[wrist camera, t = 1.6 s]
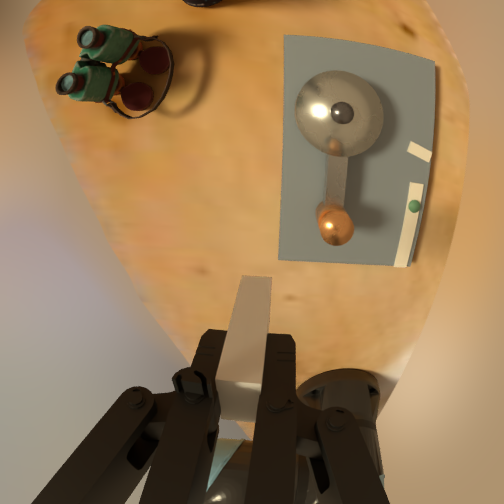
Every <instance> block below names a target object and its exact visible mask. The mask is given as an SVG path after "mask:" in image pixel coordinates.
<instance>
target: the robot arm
mask: <svg viewBox="0 0 504 504" xmlns="http://www.w3.org/2000/svg"><path fill="white" fill-rule="evenodd" d="M271 286H272V277H259V276H242V278H241V281H240V285H239V289H238V293H237V297H236V300H235V304H234V308H233V312H232V316H231V320H230V323H229V327H228V331H224V330H214V329H208V330H207V331H206V332H205V333H204V334H203V335H202V336H201V339H200V342H199V345H198V347H197V350H196V354H195V356H194V359H193V362H192V365H191V367H187V368H184V369H181V370H179V371H178V372H176V373H175V374H174V376H173V377H172V381H173V384H174V387H175V391H173V392H169V393H159V394H152V393H151V391H149V390H148V389H147V388H144V387H140V386H139V387H131V388H129V389H127V390H126V391H125V392H123V393H122V394H121V396H120V397H119V398H118V399H117V400H116V402H115V403H114V404H113V405H112V406H111V408H110V409H109V410H108V411H107V413H105V415H104V416H103V417H102V418H101V419H100V421H99V422H98V423H97V424H96V425H95V427H94V428H93V429H92V430H91V431H90V433H89V434H88V435H87V437H85V439H84V440H83V441H82V442H81V444H80V445H79V446H78V447H77V448H76V450H75V451H74V452H73V453H72V454H71V456H70V457H69V458H68V459H67V461H66V462H65V463H64V464H63V465H62V467H61V468H60V469H59V470H58V471H57V473H56V474H55V475H54V476H53V478H52V479H51V480H50V481H49V483H48V484H47V485H46V486H45V487H44V489H43V490H42V491H41V492H40V494H39V495H38V496H37V497H36V499H35V500H34V501H33V502H32V503H31V504H125V502H126V501H127V499H128V498H129V496H130V495H131V494H132V492H133V491H134V489H135V488H136V486H137V485H138V483H139V482H140V480H141V479H142V477H143V476H144V475H145V473H146V472H147V470H148V469H149V467H150V466H151V468H150V470H149V473H148V476H147V480H146V483H145V486H144V489H143V492H142V495H141V498H140V502H139V504H390V503H389V500H388V498H387V495H386V492H385V490H384V478H385V475H384V474H383V466H382V460H381V454H380V447H379V442H378V435H377V430H376V418H377V412H378V407H379V400H380V390H379V386H378V382H377V380H376V379H375V377H374V376H372V375H371V374H369V373H367V372H364V371H361V370H355V369H340V370H333V371H329V372H325V373H322V374H319V375H316V376H314V377H312V378H310V379H308V380H307V381H305V382H304V383H303V384H301V385H300V386H299V388H298V389H297V390H296V355H295V353H296V344H295V341H294V340H293V338H292V336H291V335H290V334H271V333H269V322H270V306H271ZM220 415H221V419H227V420H235V421H244V422H255V429H254V437H253V441H249V440H245V439H241V440H237V439H224V438H220V439H217V438H218V433H219V425H218V422H219V418H220Z"/></svg>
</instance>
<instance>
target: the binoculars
mask: <svg viewBox="0 0 504 504" xmlns="http://www.w3.org/2000/svg"><path fill="white" fill-rule="evenodd" d="M157 38H158V36H152V37H146V36H138V35H137V34H136V33H134V32H132V30H131V29H130V30H127V29H125V28H117V27H114V26H110V25H101V26H99V27H97V28H94V27H91V26H85V27H83V28H82V29H81V30H80V31H79V33H78V35H77V43H78V45H79V47H81V48H82V51H81V53H80V55H79V57H81V60H80V61H77V62H76V64H75V66H74V68H73V71H72V73H70V72H69V73H65V74H64V75H62V76H61V77H60V78H59V80H58V81H57V83H56V92H57V93H58V94H59V95H68V96H69V97H70V98H71V99H73V100H76V101H92V102H95V103H101V102H103V103H104V104H105V105H106V106H108V107H110V108H111V109H112V110H113V111H114V112H115V113H118V114H119V115H120V116H123V117H125V118H127V119H134V118H141V117H144V116H145V115H147V114H149V113H150V112H152V111H154V110H156V109H157V107H158V106H159V105H160V103H161V102H162V101H163V100H164V98H165V96H166V94H167V92H168V89H169V87H170V84H171V81H172V77H173V70H174V62H173V56H172V53H171V50H170V49H169V48H168V46H167V45H166V44H165V42H163V41H161V40H159V39H157ZM140 40H143V41H153V40H157V41H160V42H161V43H162V44H163V45H164V47H150V48H147V49H145V50H144V51H142V50H143V47H142V43H141V42H140ZM138 57H139V63H140V65H141V67H142V69H143V70H144V71H145V72H147V73H149V74H160V73H163V72H165V71H167V70H168V69H169V68H170V69H169V76H168V80H167V83H166V86H165V89H164V91H163V93H162V96H161V98H160V99H159V100H158V102H157V103H156V104H155V106H154V107H153V108H152V109H151V110H149V111H148V112H146V113H144V114H142V115H141V116H139V117H131V116H129V115H126V114H125V113H123V112H122V111H121V110H120V109H119V108H118V107H117V105H116V103H115V102H113V101H111V98H112V97H113V95H117V94H119V93H121V98H122V101H123V103H124V105H125V106H126V107H127V108H128V109H130V110H134V111H141V110H144V109H146V108H148V107H149V106H150V104H151V103H152V101H153V97H154V96H153V90H152V89H151V87H150V86H148V85H146V84H144V83H141V82H136V83H131V84H129V85H127V86H126V87H125V81H124V78H123V77H122V76H121V75H120V74H119V73H118V70H117V69H116V66H117V65H119V64H122V63H124V62H126V61H127V60H134V59H136V58H138ZM100 61H101V62H100ZM102 62H106V63H112V66H111V68H110V67H107V66H106V64H105V63H102ZM108 102H111V103H108ZM107 103H108V104H107Z"/></svg>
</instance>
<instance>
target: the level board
mask: <svg viewBox="0 0 504 504" xmlns="http://www.w3.org/2000/svg"><path fill="white" fill-rule="evenodd" d="M333 70H339V71H346V72H350V73H353V74H355V75H357V76H359V77H361V78H362V79H364V80H365V81H366V82H367V83H369V85H370V86H371V87H372V88H373V89H374V90H375V92H376V93H377V95H378V97H379V99H380V101H381V104H382V108H383V126H382V130H381V132H380V135H379V137H378V138H377V140H376V141H375V142H374V144H373V145H372V146H371V147H370V148H368V149H367V150H366V151H364V152H362V153H360V154H357V155H354V156H349V157H348V166H347V178H346V188H345V198H344V209H345V210H346V212H347V214H348V215H349V217H350V219H351V220H352V222H353V224H354V233H353V236H352V238H351V239H350V240H349V241H348V242H347V243H345V244H343V245H340V246H333V245H330V244H328V243H326V242H325V241H324V240H323V238H322V236H321V233H320V229H319V226H318V223H317V219H316V216H315V211H316V208H317V206H318V204H319V203H320V202H322V201H323V191H324V178H325V164H326V153H323V152H321V151H320V150H318V149H316V148H315V147H314V146H312V145H311V144H310V143H309V142H308V141H307V140H306V139H305V138H304V137H303V135H302V134H301V132H300V131H299V129H298V127H297V124H296V121H295V115H294V108H295V102H296V98H297V96H298V94H299V92H300V90H301V89H302V87H303V86H304V85H305V83H306V82H307V81H308V80H309V79H311V78H312V77H314V76H316V75H317V74H320V73H322V72H326V71H333ZM434 120H435V61H432V60H429V59H426V58H422V57H419V56H416V55H412V54H409V53H405V52H401V51H397V50H393V49H389V48H384V47H380V46H375V45H370V44H365V43H359V42H353V41H347V40H340V39H332V38H323V37H313V36H299V35H284V116H283V157H282V187H281V212H280V234H279V254H278V260H288V261H307V262H326V263H346V264H366V265H387V266H394V267H405V268H406V266H409V267H410V265H411V262H412V258H413V254H414V250H415V246H416V242H417V238H418V233H419V229H420V224H421V219H422V214H423V209H424V204H425V198H426V192H427V186H428V179H429V172H430V165H431V156H432V146H433V135H434Z"/></svg>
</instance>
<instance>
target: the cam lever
mask: <svg viewBox="0 0 504 504" xmlns="http://www.w3.org/2000/svg"><path fill="white" fill-rule="evenodd" d="M294 115H295V121H296V124H297V127H298V129H299V131H300V132H301V134H302V135H303V137H304V138H305V139H306V140H307V141H308V142H309V143H310V144H311V145H312V146H314V147H315V148H316V149H318V150H320V151H321V152H323V153H326V164H325V178H324V191H323V201H322V202H320V203H319V204H318V206H317V208H316V211H315V216H316V219H317V223H318V226H319V229H320V233H321V236H322V238H323V240H324V241H325V242H326V243H328V244H330V245H333V246H340V245H343V244H345V243H347V242H348V241H349V240H350V239H351V238H352V236H353V233H354V224H353V222H352V220H351V219H350V217H349V215H348V214H347V212H346V210H345V209H344V198H345V188H346V178H347V166H348V157H349V156H354V155H357V154H360V153H362V152H364V151H366V150H367V149H368V148H370V147H371V146H372V145H373V144H374V142H375V141H376V140H377V138H378V137H379V135H380V132H381V130H382V126H383V108H382V104H381V101H380V99H379V97H378V95H377V93H376V92H375V90H374V89H373V88H372V87H371V86H370V85H369V83H367V82H366V81H365V80H364V79H362V78H361V77H359V76H357V75H355V74H353V73H350V72H346V71H339V70H333V71H326V72H322V73H320V74H317V75H316V76H314V77H312V78H311V79H309V80H308V81H307V82H306V83H305V85H304V86H303V87H302V89H301V90H300V92H299V94H298V96H297V98H296V102H295V108H294Z"/></svg>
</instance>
